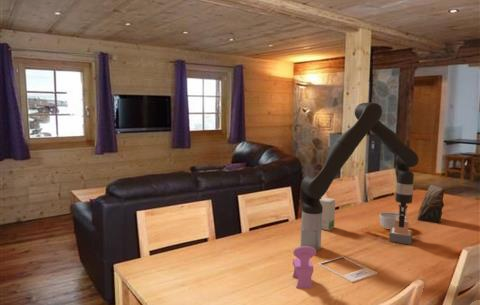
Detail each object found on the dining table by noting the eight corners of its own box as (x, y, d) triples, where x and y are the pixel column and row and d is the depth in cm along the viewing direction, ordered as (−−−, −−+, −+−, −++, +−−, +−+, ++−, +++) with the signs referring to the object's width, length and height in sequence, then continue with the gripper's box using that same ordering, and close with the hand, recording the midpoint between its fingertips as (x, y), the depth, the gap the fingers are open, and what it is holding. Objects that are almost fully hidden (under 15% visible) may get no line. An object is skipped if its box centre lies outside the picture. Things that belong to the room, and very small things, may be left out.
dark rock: (424, 215, 222) (427, 183, 219) (447, 220, 213) (450, 186, 210) (416, 219, 213) (419, 186, 211) (439, 225, 204) (443, 190, 202)
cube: (407, 234, 176) (408, 222, 176) (394, 232, 179) (395, 220, 178) (408, 230, 182) (409, 218, 181) (394, 228, 184) (395, 217, 184)
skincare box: (328, 231, 192) (329, 202, 189) (316, 228, 195) (317, 199, 193) (334, 227, 198) (336, 198, 196) (323, 224, 202) (324, 196, 200)
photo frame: (352, 281, 136) (317, 262, 151) (351, 283, 136) (317, 265, 151) (377, 272, 144) (342, 255, 159) (377, 274, 144) (342, 258, 159)
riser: (411, 244, 174) (412, 236, 174) (389, 241, 179) (389, 232, 178) (411, 238, 183) (412, 230, 183) (390, 234, 188) (391, 226, 187)
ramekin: (400, 224, 204) (401, 212, 203) (408, 232, 191) (409, 220, 190) (376, 223, 205) (376, 211, 205) (382, 231, 192) (383, 218, 192)
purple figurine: (310, 276, 141) (312, 239, 139) (316, 288, 132) (318, 248, 130) (289, 276, 140) (290, 239, 138) (293, 288, 132) (294, 248, 130)
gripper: (412, 196, 170) (409, 230, 172) (413, 190, 183) (410, 221, 185) (395, 194, 173) (392, 227, 175) (396, 188, 186) (394, 219, 188)
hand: (401, 224), depth 180 cm, fingers open, 8 cm apart
